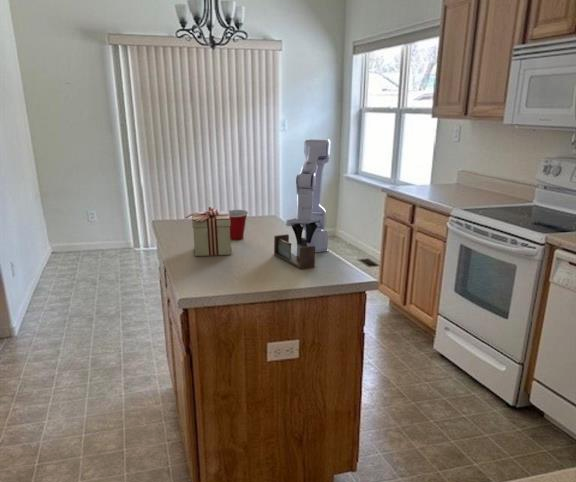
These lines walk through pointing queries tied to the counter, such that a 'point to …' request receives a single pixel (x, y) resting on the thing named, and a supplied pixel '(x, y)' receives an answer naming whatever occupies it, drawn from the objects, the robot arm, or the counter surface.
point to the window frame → (284, 252)
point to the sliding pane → (303, 244)
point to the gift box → (211, 232)
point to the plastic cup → (237, 223)
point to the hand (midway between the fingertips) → (303, 243)
